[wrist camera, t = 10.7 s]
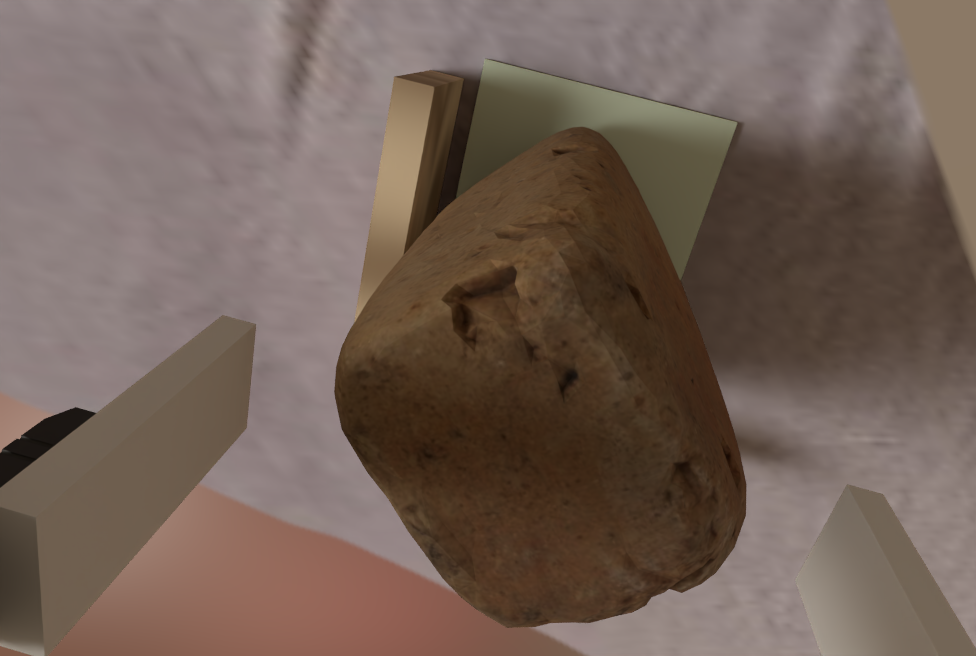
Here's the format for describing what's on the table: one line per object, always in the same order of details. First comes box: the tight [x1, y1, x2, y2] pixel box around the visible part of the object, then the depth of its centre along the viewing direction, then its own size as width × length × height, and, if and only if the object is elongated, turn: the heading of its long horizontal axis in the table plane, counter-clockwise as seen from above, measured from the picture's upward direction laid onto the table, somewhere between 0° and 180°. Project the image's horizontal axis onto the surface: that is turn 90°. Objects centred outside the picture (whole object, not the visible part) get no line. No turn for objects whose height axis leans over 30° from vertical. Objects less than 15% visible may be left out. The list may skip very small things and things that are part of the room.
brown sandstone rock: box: [334, 127, 746, 628], centre depth 23 cm, size 11×8×20 cm
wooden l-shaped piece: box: [354, 70, 464, 323], centre depth 31 cm, size 15×16×6 cm
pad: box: [456, 59, 738, 281], centre depth 33 cm, size 14×11×1 cm
